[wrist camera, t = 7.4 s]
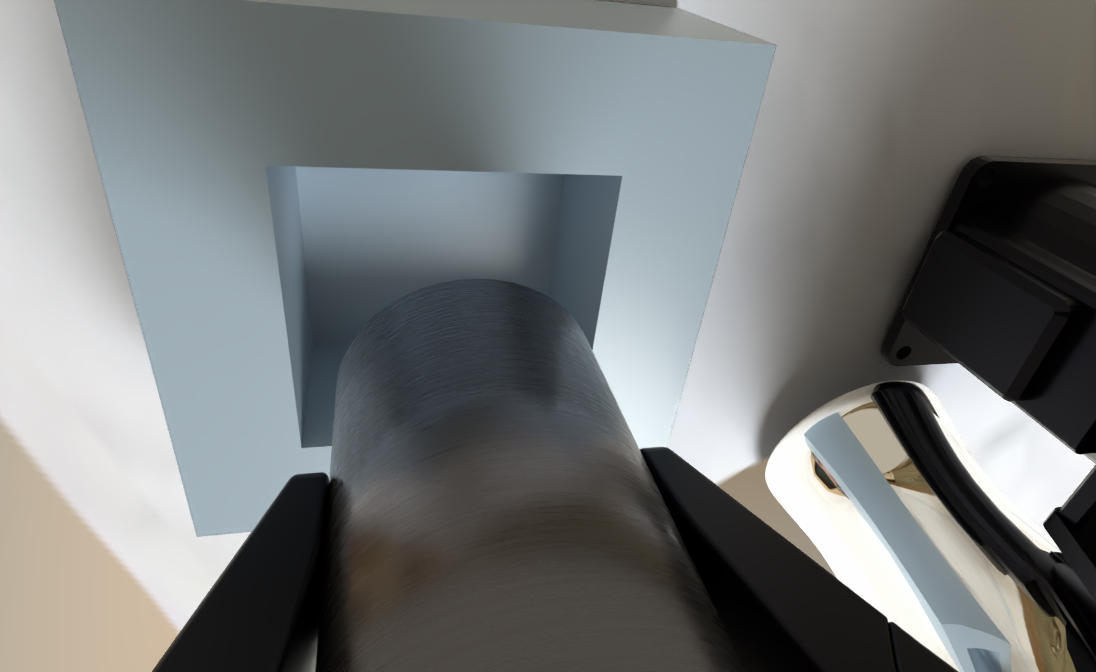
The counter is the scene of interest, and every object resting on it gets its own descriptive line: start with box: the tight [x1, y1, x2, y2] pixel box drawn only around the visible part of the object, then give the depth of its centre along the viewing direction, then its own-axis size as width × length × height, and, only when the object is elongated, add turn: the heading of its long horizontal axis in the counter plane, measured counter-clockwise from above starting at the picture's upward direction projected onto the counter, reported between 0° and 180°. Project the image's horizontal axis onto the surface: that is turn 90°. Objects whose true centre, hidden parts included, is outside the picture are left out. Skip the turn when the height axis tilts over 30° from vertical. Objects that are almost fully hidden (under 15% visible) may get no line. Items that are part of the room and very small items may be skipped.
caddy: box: [54, 0, 776, 537], centre depth 14 cm, size 10×10×4 cm
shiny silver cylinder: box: [765, 380, 1096, 672], centre depth 17 cm, size 7×7×15 cm
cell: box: [315, 278, 746, 672], centre depth 7 cm, size 4×4×8 cm
